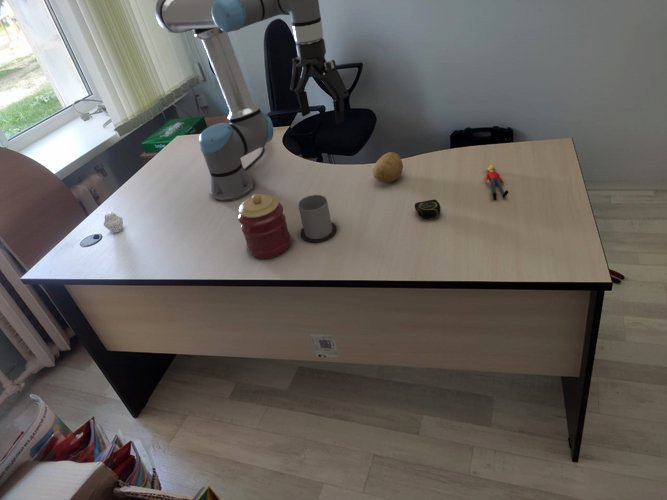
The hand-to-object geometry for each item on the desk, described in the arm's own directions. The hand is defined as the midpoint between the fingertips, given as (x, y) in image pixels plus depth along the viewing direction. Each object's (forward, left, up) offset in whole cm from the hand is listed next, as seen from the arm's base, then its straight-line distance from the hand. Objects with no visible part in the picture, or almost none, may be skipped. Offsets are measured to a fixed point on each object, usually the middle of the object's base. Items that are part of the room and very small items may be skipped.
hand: (322, 118), depth 136 cm
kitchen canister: (+12, -25, -29) cm, 40 cm away
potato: (-7, +20, -30) cm, 37 cm away
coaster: (+12, -10, -29) cm, 33 cm away
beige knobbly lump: (-23, -73, -30) cm, 82 cm away
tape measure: (+19, +22, -30) cm, 42 cm away
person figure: (+14, +48, -30) cm, 58 cm away
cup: (+12, -9, -29) cm, 33 cm away
